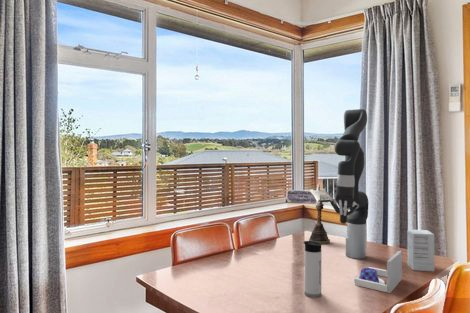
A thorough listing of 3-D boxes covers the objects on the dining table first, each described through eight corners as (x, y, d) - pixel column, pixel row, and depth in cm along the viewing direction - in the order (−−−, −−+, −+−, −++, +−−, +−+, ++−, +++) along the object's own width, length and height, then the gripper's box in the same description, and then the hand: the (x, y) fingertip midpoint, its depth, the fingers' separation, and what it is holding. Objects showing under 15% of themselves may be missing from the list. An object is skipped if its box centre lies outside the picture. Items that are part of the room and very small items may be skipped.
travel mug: (301, 291, 137) (301, 239, 137) (318, 290, 138) (318, 239, 137) (306, 297, 131) (306, 243, 131) (323, 297, 131) (323, 243, 131)
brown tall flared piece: (340, 245, 203) (340, 184, 202) (319, 247, 199) (319, 185, 199) (325, 238, 219) (325, 182, 218) (306, 239, 215) (306, 182, 215)
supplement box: (435, 271, 158) (435, 234, 158) (412, 270, 160) (413, 233, 160) (427, 265, 168) (428, 229, 167) (406, 263, 170) (407, 228, 169)
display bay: (354, 284, 143) (354, 255, 143) (368, 272, 158) (369, 245, 158) (390, 293, 135) (390, 261, 135) (401, 279, 150) (401, 250, 149)
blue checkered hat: (347, 279, 151) (347, 266, 150) (371, 275, 154) (371, 263, 154) (366, 289, 139) (366, 276, 139) (391, 285, 143) (391, 272, 143)
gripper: (327, 184, 158) (326, 222, 159) (357, 187, 150) (355, 227, 151) (334, 182, 164) (332, 219, 165) (363, 185, 156) (361, 224, 157)
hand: (343, 223), depth 158 cm, fingers closed
